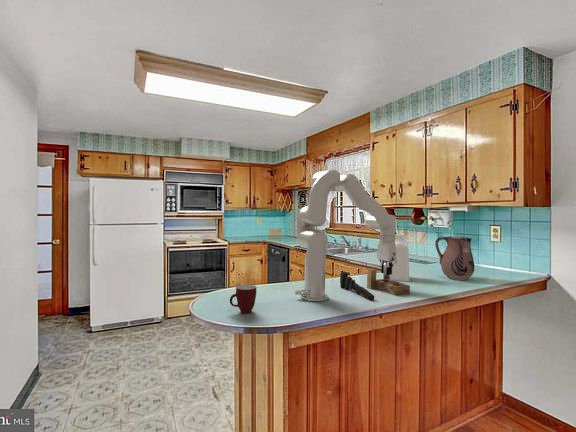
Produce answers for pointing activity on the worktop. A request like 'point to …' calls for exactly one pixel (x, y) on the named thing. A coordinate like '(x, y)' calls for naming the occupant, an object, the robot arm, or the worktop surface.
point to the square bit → (371, 278)
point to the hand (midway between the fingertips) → (386, 273)
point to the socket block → (392, 287)
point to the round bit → (385, 271)
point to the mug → (245, 297)
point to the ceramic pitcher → (456, 258)
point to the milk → (401, 260)
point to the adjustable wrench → (354, 286)
